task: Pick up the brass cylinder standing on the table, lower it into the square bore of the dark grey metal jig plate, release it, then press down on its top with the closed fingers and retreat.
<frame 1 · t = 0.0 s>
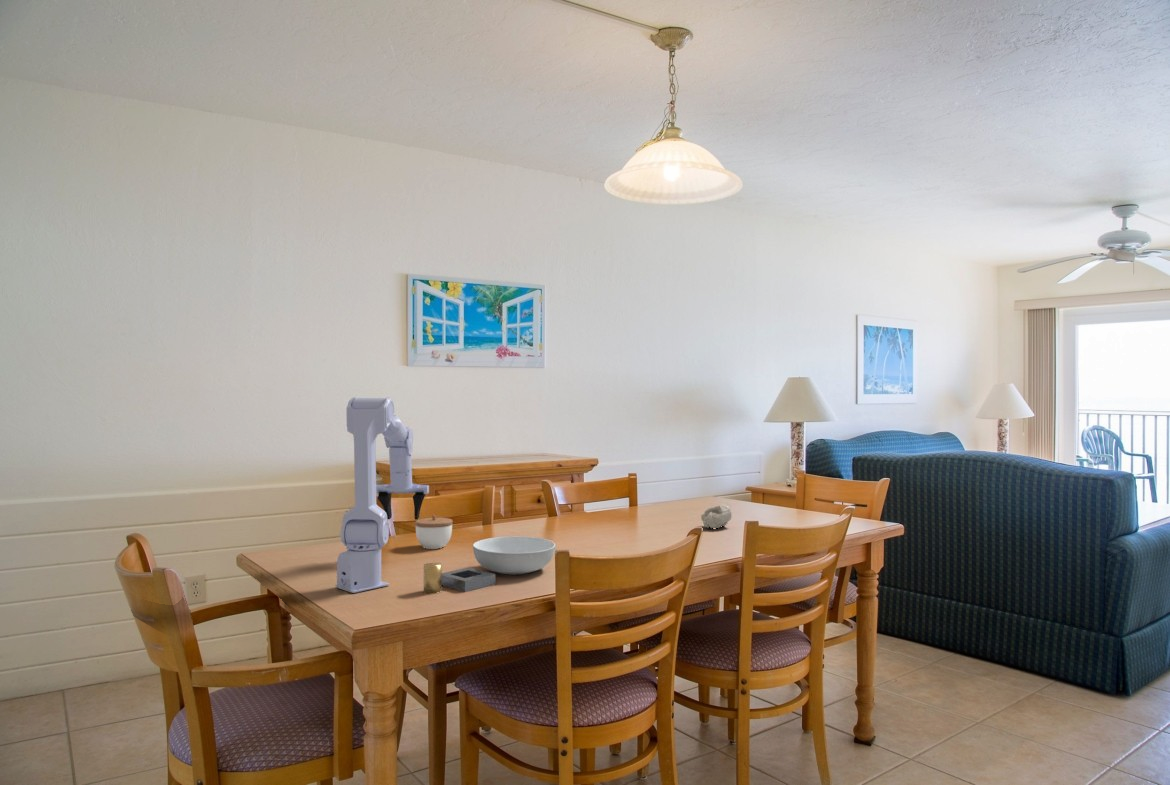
hand: (403, 518, 205), 11 cm above the table, tool pointing down, fingers open, 7 cm apart
serving bowl: (514, 571, 189), on the table
brass cylinder: (432, 591, 170), on the table
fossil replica: (716, 528, 251), on the table
jig: (466, 584, 176), on the table
lidded jar: (433, 547, 219), on the table
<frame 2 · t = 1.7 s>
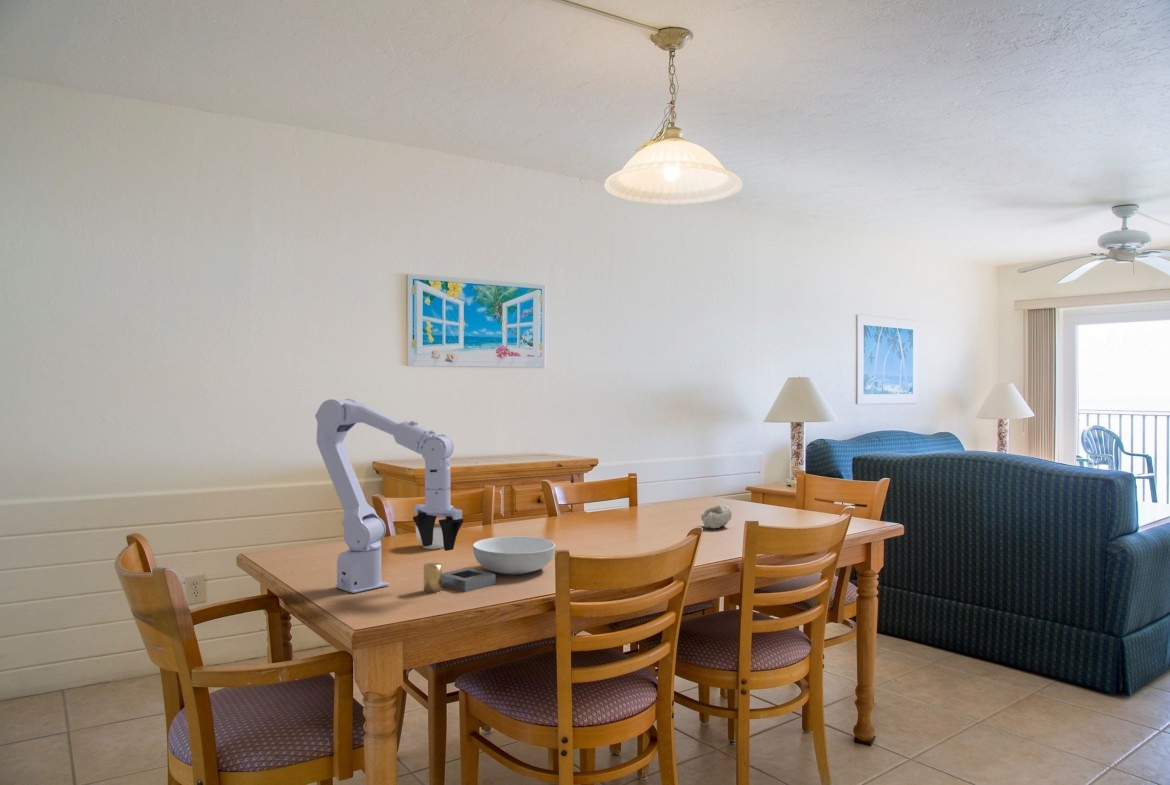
hand: (438, 547, 171), 10 cm above the table, tool pointing down, fingers open, 7 cm apart
nothing on the table moved.
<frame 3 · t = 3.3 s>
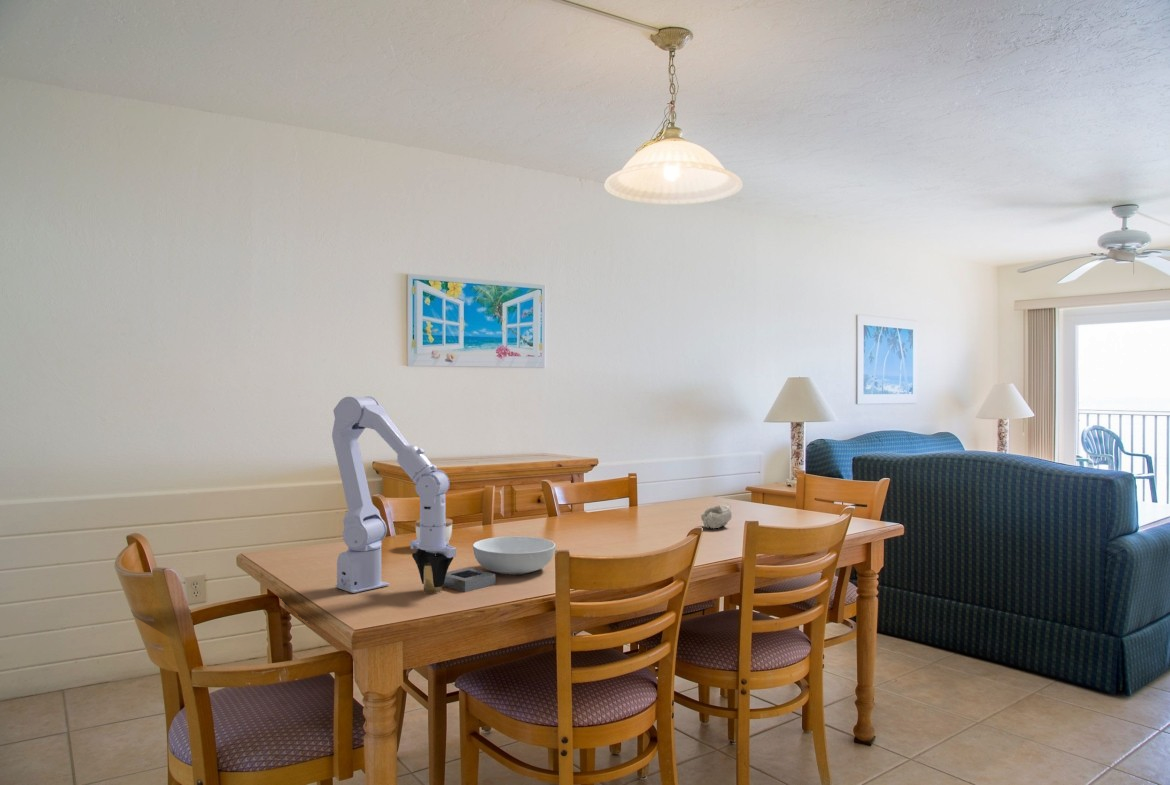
hand: (432, 584, 170), 1 cm above the table, tool pointing down, fingers closed on brass cylinder, 4 cm apart
brass cylinder: (432, 591, 170), on the table, touching gripper
everything else where it was.
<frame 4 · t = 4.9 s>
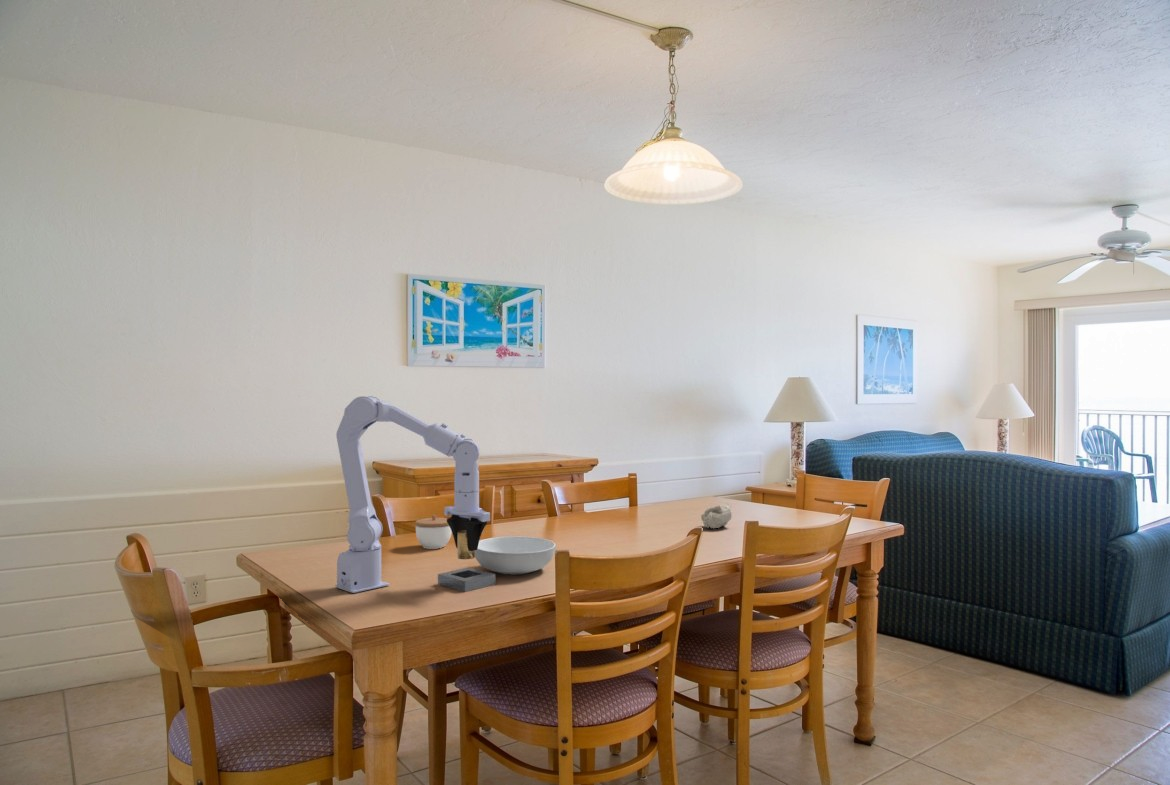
hand: (466, 549, 176), 8 cm above the table, tool pointing down, fingers closed on brass cylinder, 4 cm apart
brass cylinder: (466, 557, 175), point 6 cm above the table, touching gripper
everything else where it was.
when the fingers open (3 cm above the table, at t = 6.6 s): brass cylinder drops 1 cm, resting in jig.
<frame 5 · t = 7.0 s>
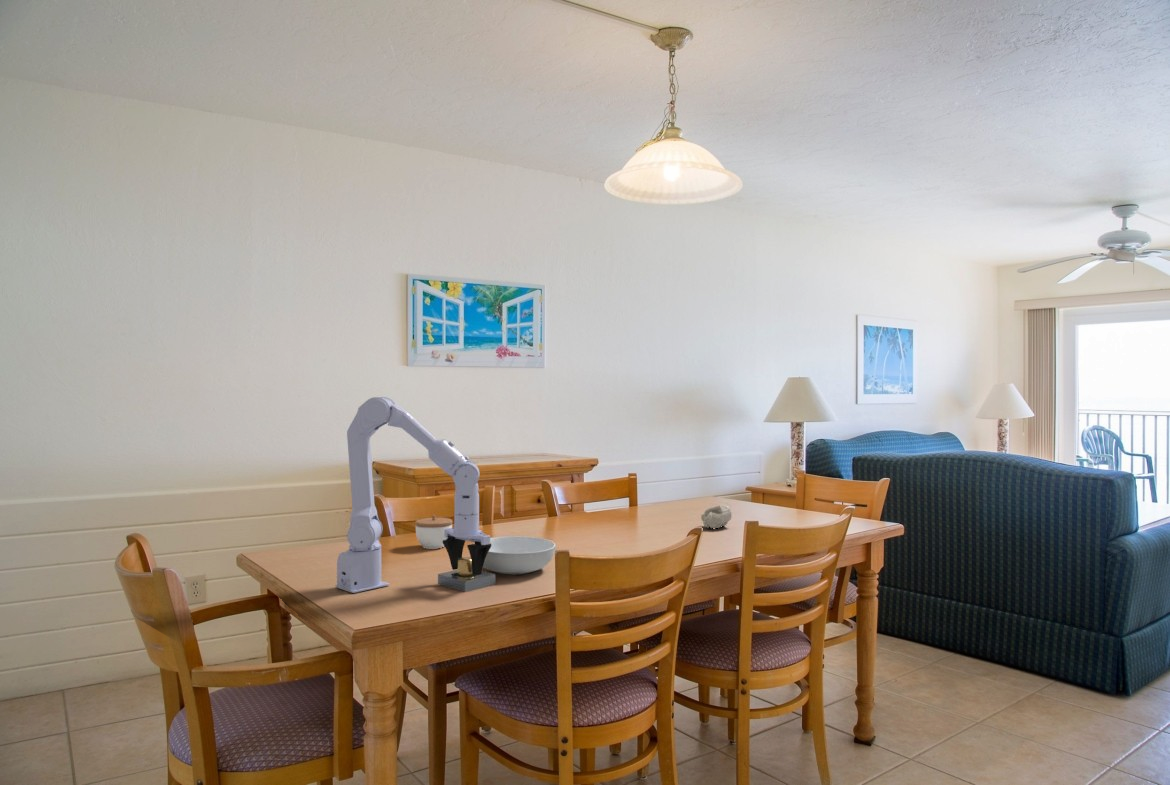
hand: (466, 571, 176), 3 cm above the table, tool pointing down, fingers open, 7 cm apart
brass cylinder: (466, 584, 175), resting in jig
everything else where it was.
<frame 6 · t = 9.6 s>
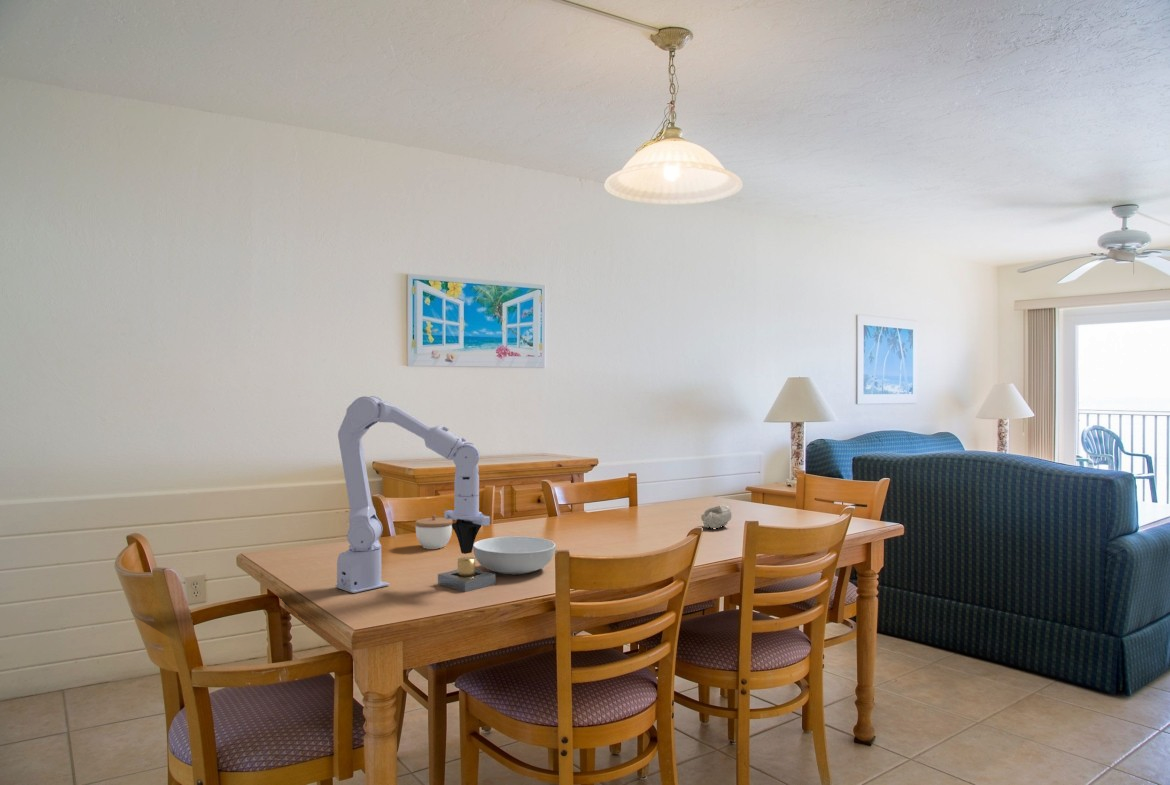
hand: (466, 552, 176), 7 cm above the table, tool pointing down, fingers closed
nothing on the table moved.
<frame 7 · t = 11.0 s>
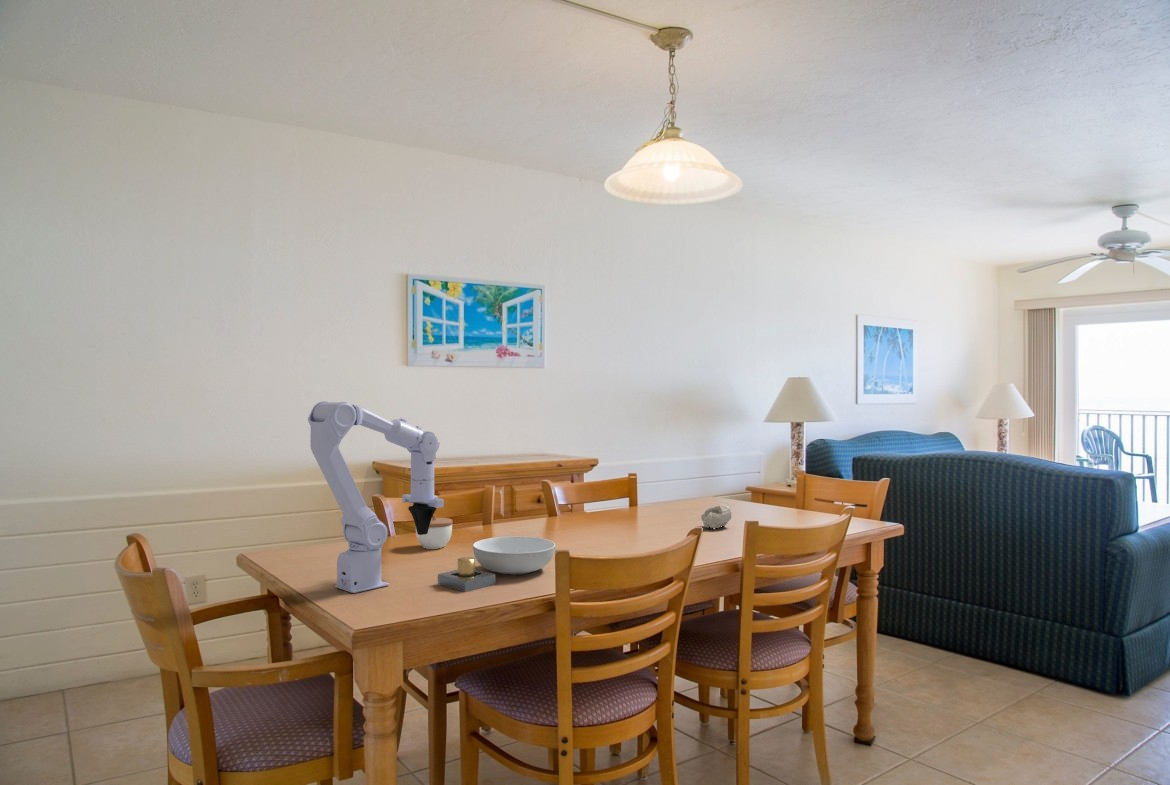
hand: (422, 534, 186), 10 cm above the table, tool pointing down, fingers closed
nothing on the table moved.
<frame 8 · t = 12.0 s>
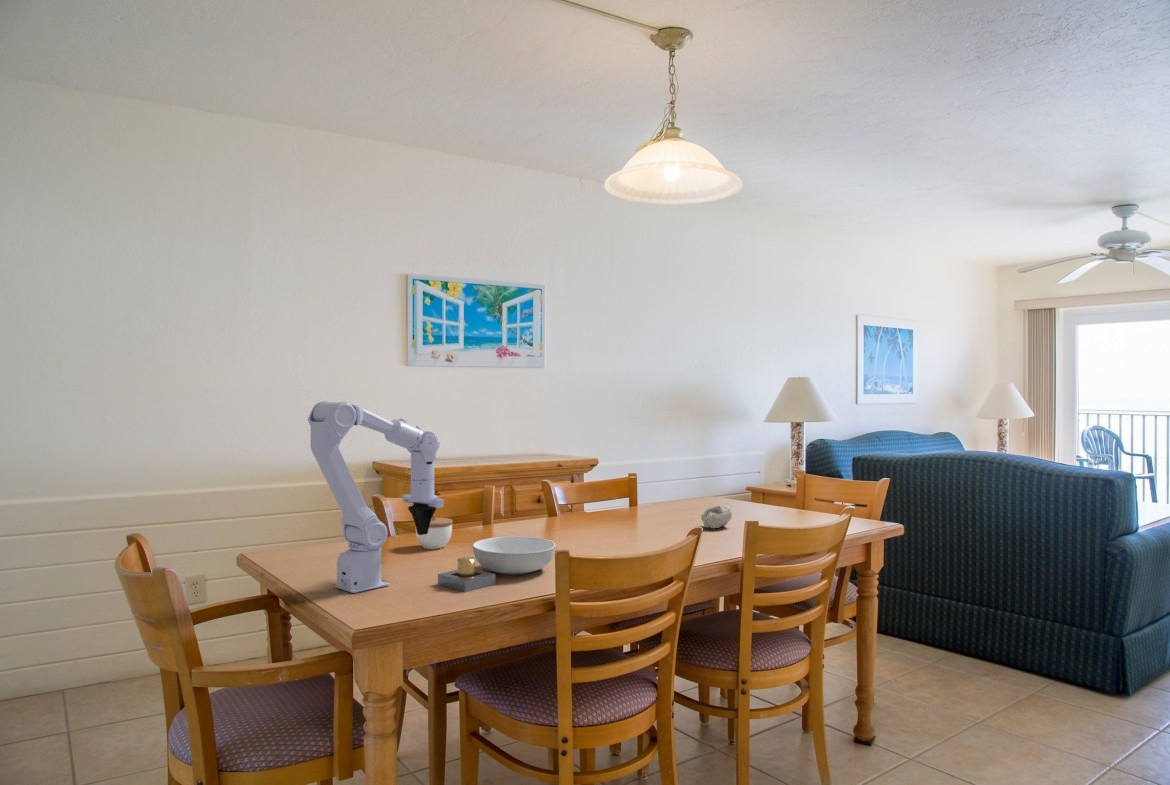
hand: (422, 534, 186), 10 cm above the table, tool pointing down, fingers closed
nothing on the table moved.
at the end: brass cylinder 0.1 cm off-centre on the jig, point 0.0 cm above the jig's base; brass cylinder tilted 0°; the gripper is holding nothing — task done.
